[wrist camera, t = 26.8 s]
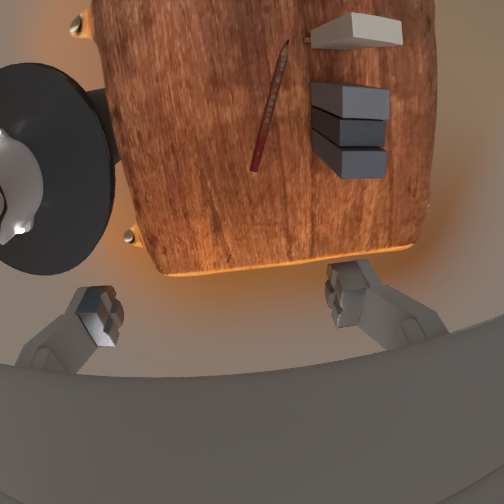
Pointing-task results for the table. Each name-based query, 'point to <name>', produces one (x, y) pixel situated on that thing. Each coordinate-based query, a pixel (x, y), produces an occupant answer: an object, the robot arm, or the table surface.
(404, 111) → the table surface
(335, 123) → the grey books
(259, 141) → the pencil
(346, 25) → the white book
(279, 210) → the table surface
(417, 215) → the table surface
